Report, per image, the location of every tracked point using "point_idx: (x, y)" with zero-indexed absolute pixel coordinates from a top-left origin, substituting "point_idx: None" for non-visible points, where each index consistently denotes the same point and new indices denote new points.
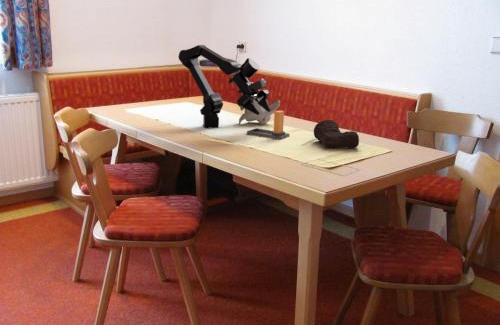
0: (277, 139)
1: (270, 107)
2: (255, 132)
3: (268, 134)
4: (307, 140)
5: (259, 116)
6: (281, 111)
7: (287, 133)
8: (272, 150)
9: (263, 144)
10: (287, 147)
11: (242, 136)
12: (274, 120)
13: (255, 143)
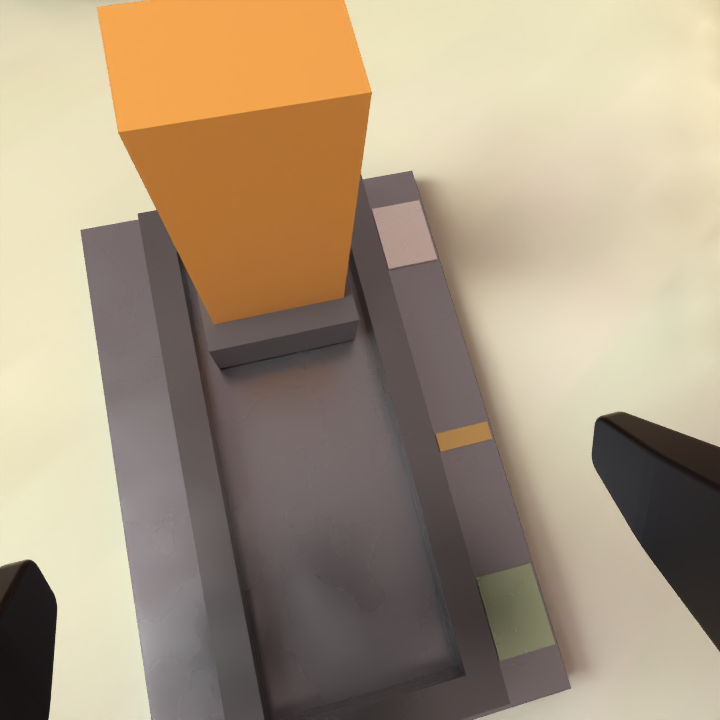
0: (392, 211)
1: None
2: (463, 546)
3: (395, 348)
4: (84, 65)
5: None
6: (197, 11)
7: (150, 234)
8: (658, 54)
9: (595, 237)
10: (472, 33)
11: (571, 684)
12: (354, 202)
13: (642, 316)
